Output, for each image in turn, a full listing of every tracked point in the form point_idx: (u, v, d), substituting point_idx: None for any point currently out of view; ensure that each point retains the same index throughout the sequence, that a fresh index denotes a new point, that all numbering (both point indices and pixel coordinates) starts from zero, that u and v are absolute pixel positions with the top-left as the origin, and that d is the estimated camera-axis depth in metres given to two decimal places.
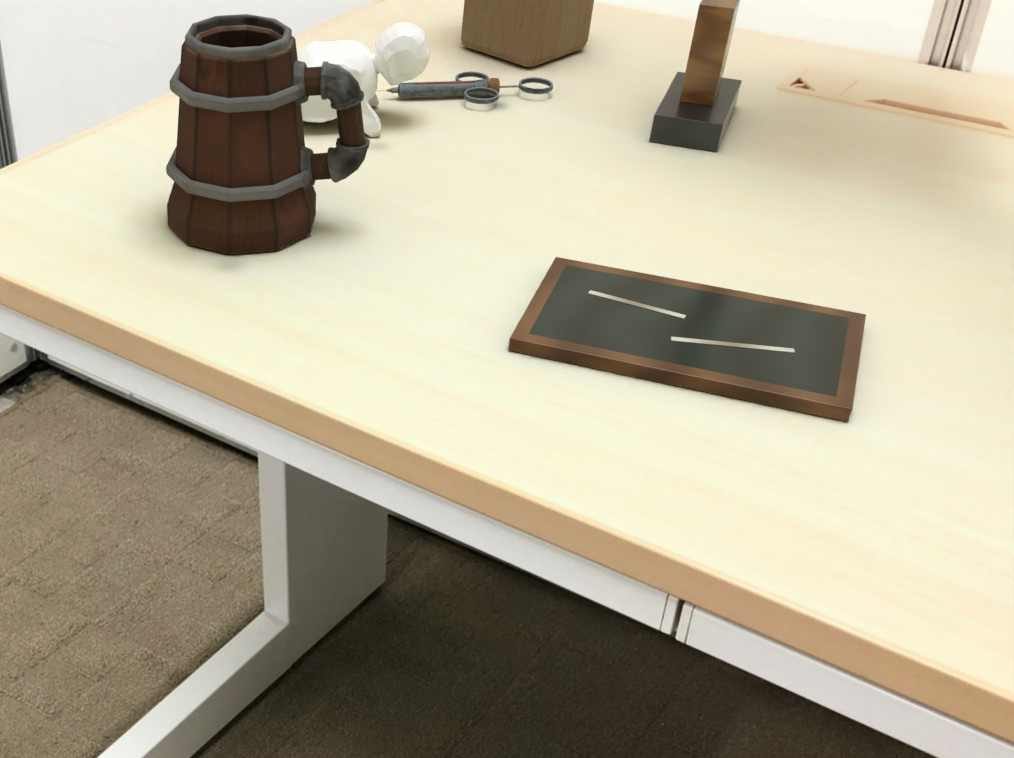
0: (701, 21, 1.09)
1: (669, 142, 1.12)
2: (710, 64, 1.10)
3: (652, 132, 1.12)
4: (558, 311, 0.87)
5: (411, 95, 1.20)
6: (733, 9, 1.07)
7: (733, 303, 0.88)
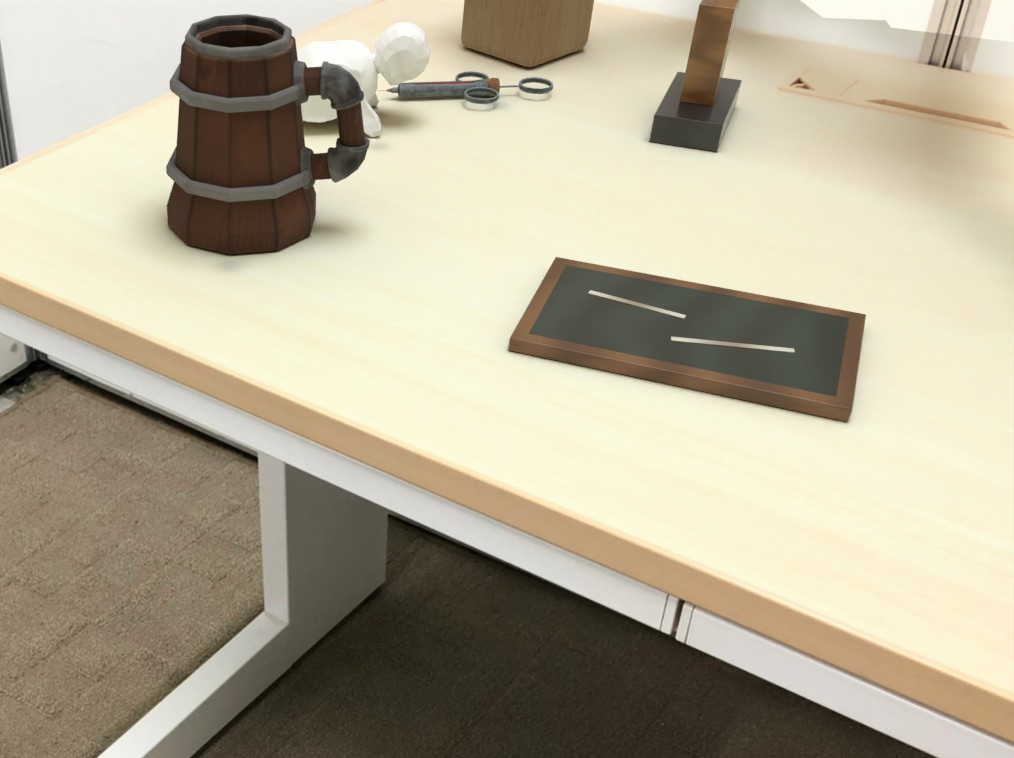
0: (701, 21, 1.09)
1: (669, 142, 1.12)
2: (710, 64, 1.10)
3: (652, 132, 1.12)
4: (558, 311, 0.87)
5: (411, 95, 1.20)
6: (733, 9, 1.07)
7: (733, 303, 0.88)
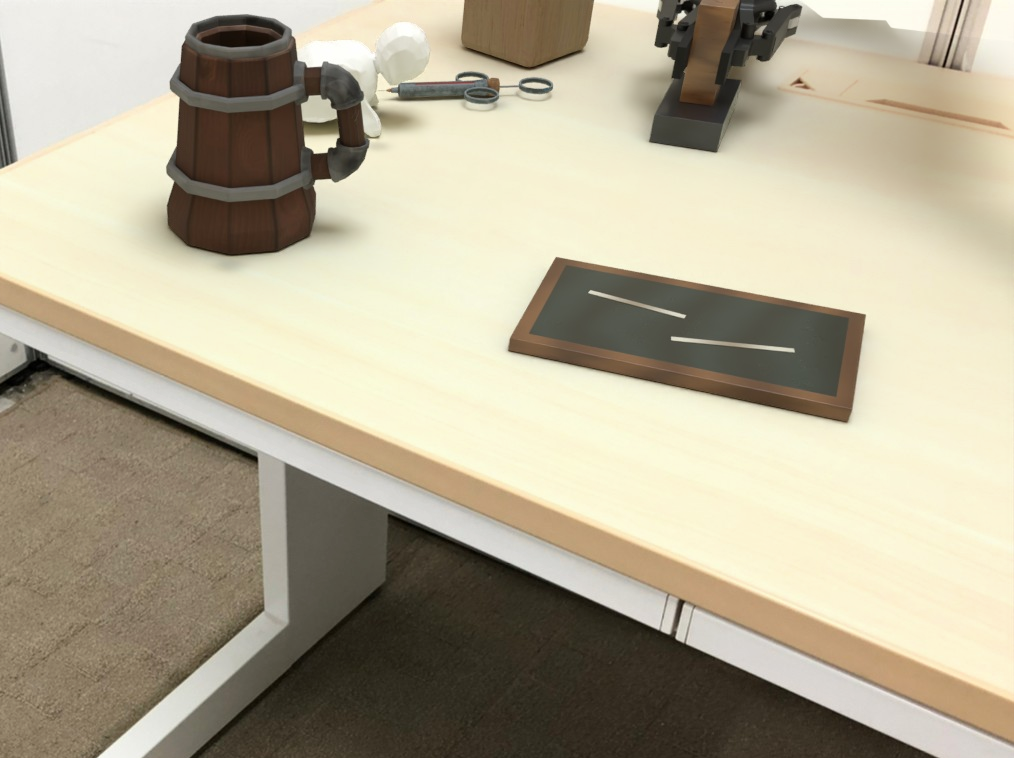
0: (701, 21, 1.09)
1: (669, 142, 1.12)
2: (710, 64, 1.10)
3: (652, 132, 1.12)
4: (558, 311, 0.87)
5: (411, 95, 1.20)
6: (733, 9, 1.07)
7: (733, 303, 0.88)
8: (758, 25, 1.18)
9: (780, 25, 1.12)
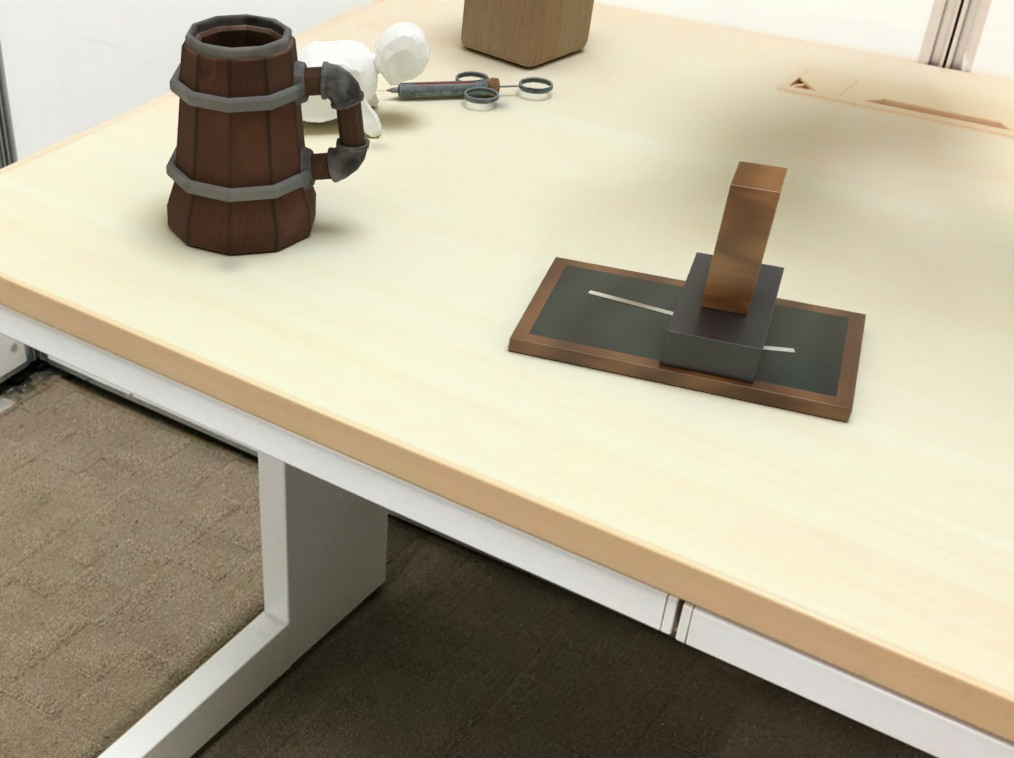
0: (732, 206, 0.78)
1: (687, 366, 0.81)
2: (744, 262, 0.79)
3: (664, 353, 0.81)
4: (558, 311, 0.87)
5: (411, 95, 1.20)
6: (778, 193, 0.76)
7: None
8: None
9: None
